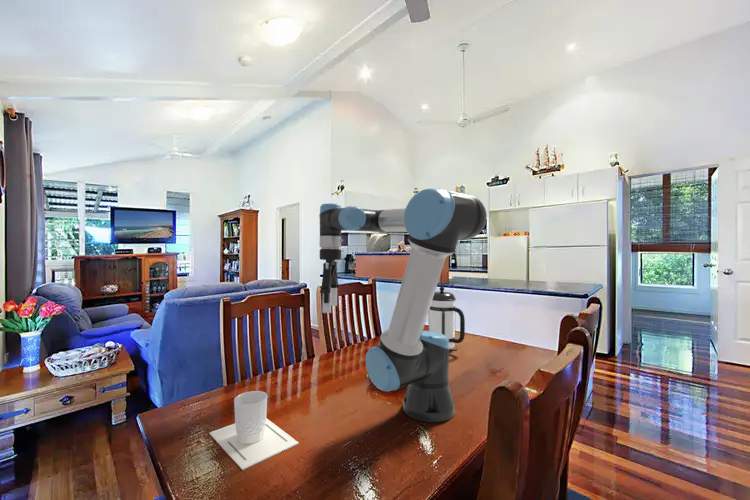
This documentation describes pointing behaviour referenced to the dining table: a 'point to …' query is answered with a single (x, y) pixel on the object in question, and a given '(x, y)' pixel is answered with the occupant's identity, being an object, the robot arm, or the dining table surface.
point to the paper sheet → (253, 444)
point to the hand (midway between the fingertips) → (330, 309)
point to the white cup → (250, 416)
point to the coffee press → (445, 317)
